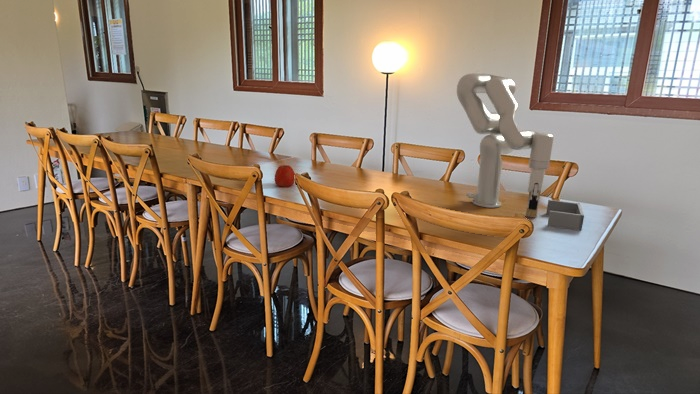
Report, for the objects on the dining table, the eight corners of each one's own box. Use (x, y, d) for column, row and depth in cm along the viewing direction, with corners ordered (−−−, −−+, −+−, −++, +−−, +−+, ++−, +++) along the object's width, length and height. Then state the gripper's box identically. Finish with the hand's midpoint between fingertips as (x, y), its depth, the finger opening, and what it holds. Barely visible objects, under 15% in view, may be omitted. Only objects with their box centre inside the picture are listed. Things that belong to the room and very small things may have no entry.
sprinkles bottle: (523, 214, 186) (527, 183, 182) (533, 214, 187) (538, 183, 183) (528, 217, 182) (533, 186, 178) (539, 217, 182) (544, 186, 178)
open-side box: (547, 225, 174) (549, 211, 172) (546, 213, 190) (548, 199, 188) (581, 230, 170) (584, 215, 168) (577, 217, 186) (579, 203, 184)
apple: (292, 182, 228) (292, 162, 225) (297, 187, 219) (297, 166, 216) (272, 183, 224) (272, 163, 221) (277, 188, 215) (276, 167, 212)
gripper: (529, 159, 187) (523, 201, 192) (528, 167, 172) (522, 212, 177) (548, 161, 184) (541, 203, 189) (549, 169, 169) (542, 214, 174)
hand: (532, 207), depth 183 cm, fingers closed on sprinkles bottle, 4 cm apart
